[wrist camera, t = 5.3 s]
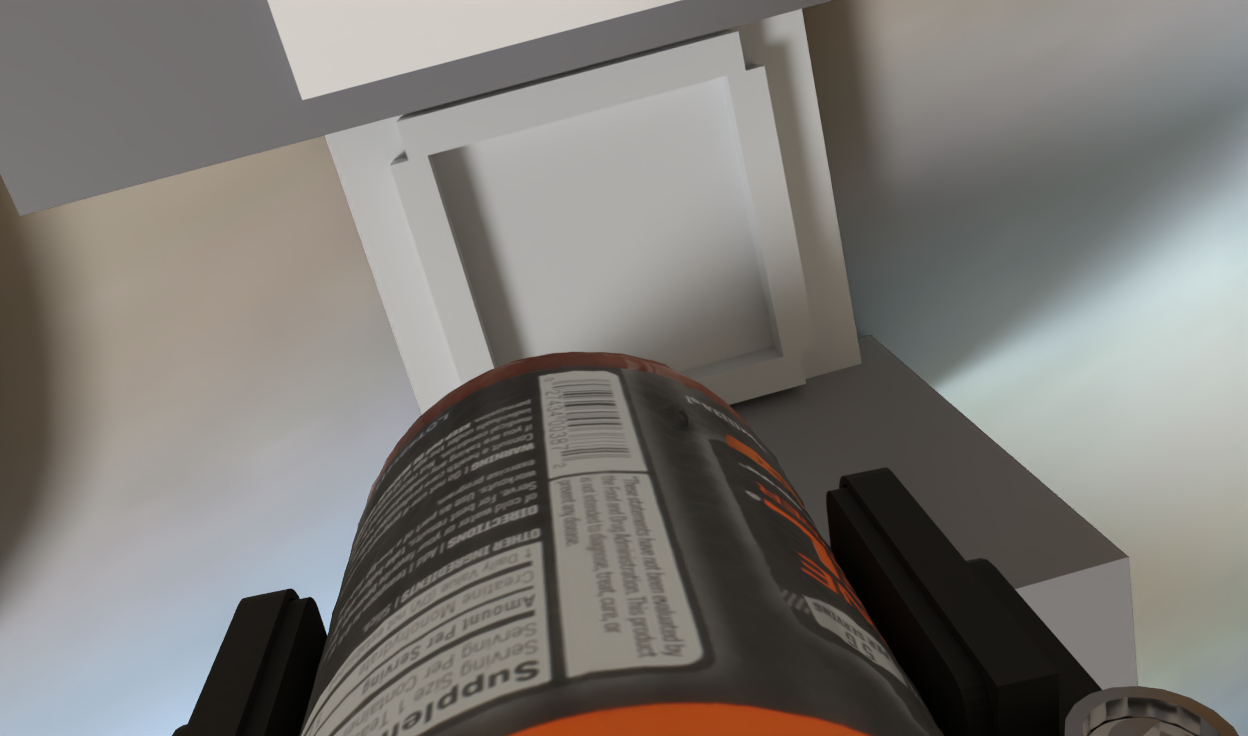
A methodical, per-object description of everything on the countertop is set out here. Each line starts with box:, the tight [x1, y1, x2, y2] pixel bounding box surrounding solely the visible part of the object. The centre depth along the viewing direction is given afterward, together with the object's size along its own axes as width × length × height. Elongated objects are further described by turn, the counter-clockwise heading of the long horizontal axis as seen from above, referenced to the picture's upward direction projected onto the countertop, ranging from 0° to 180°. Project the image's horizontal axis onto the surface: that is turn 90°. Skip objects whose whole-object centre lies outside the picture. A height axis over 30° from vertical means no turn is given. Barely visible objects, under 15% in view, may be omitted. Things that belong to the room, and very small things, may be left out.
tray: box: [325, 9, 1138, 690], centre depth 23 cm, size 22×15×14 cm
